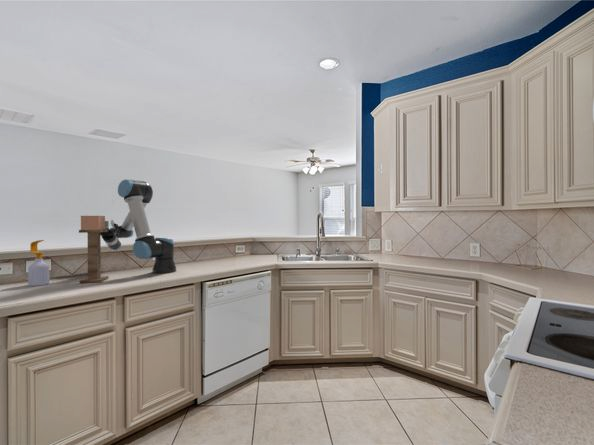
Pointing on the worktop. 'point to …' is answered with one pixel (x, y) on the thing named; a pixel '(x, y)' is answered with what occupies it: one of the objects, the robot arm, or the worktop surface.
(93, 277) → the tall stand
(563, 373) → the worktop surface
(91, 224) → the handled block
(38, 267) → the soap bottle
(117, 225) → the robot arm
